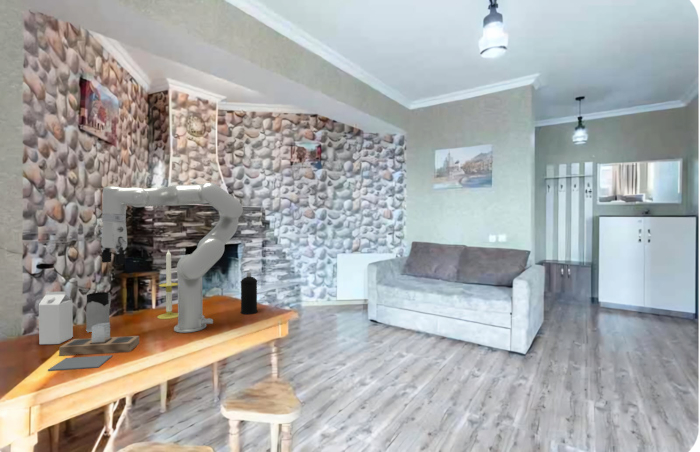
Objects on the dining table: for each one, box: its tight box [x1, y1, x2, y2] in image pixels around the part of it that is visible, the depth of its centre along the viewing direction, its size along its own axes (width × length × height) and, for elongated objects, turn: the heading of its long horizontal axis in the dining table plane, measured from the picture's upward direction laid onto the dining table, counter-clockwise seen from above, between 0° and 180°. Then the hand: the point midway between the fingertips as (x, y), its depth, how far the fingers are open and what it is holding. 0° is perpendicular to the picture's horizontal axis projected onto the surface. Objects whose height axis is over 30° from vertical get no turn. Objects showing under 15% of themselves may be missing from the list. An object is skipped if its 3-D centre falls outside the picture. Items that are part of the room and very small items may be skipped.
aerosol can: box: [239, 271, 258, 315], centre depth 174 cm, size 8×8×20 cm
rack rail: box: [58, 335, 140, 357], centre depth 125 cm, size 22×8×3 cm, turn 100°
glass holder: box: [85, 291, 112, 333], centre depth 150 cm, size 9×14×15 cm, turn 9°
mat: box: [47, 354, 113, 372], centre depth 113 cm, size 14×9×1 cm, turn 100°
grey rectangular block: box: [91, 322, 111, 344], centre depth 125 cm, size 4×4×9 cm
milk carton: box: [38, 291, 74, 345], centre depth 133 cm, size 7×7×19 cm
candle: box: [157, 248, 178, 320], centre depth 166 cm, size 10×10×32 cm
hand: (112, 263), depth 134 cm, fingers open, 9 cm apart
